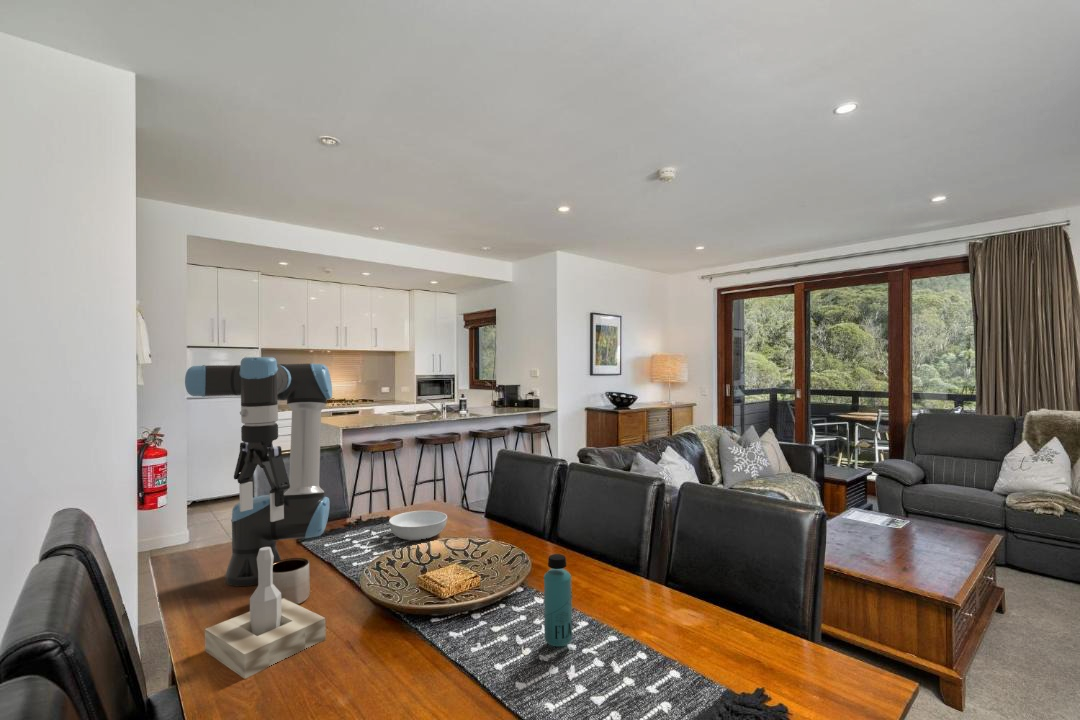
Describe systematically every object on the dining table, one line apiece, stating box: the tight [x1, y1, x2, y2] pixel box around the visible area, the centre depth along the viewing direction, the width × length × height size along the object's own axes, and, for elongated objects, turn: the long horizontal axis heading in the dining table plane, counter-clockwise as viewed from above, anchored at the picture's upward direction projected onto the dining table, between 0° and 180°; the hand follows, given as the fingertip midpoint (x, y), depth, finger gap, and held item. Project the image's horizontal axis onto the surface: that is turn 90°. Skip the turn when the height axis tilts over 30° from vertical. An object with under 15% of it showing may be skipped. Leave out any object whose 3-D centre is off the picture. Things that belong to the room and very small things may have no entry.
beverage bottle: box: [543, 553, 574, 647], centre depth 117 cm, size 6×7×20 cm
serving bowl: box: [388, 510, 448, 541], centre depth 192 cm, size 21×21×7 cm
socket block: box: [204, 599, 327, 679], centre depth 118 cm, size 18×18×5 cm
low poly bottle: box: [249, 547, 281, 636], centre depth 118 cm, size 6×6×22 cm
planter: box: [273, 557, 311, 605], centre depth 141 cm, size 11×11×10 cm
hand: (261, 515), depth 121 cm, fingers open, 13 cm apart
